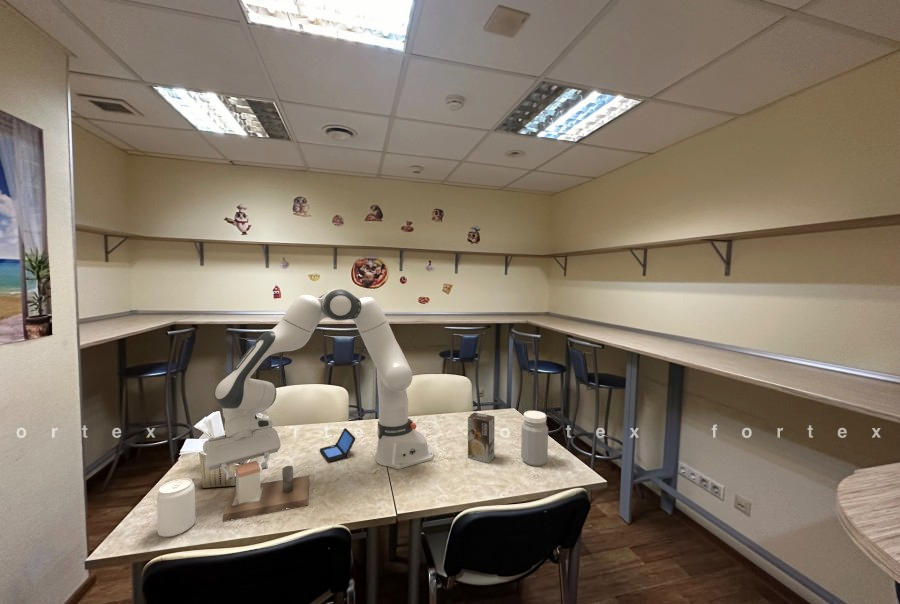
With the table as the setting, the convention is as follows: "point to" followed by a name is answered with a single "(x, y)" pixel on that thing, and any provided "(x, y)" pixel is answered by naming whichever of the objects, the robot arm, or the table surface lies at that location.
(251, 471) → the white tall block
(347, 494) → the table surface
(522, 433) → the jar
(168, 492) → the white cylinder
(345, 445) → the handheld game console
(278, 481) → the board
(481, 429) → the coffee box
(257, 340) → the robot arm
